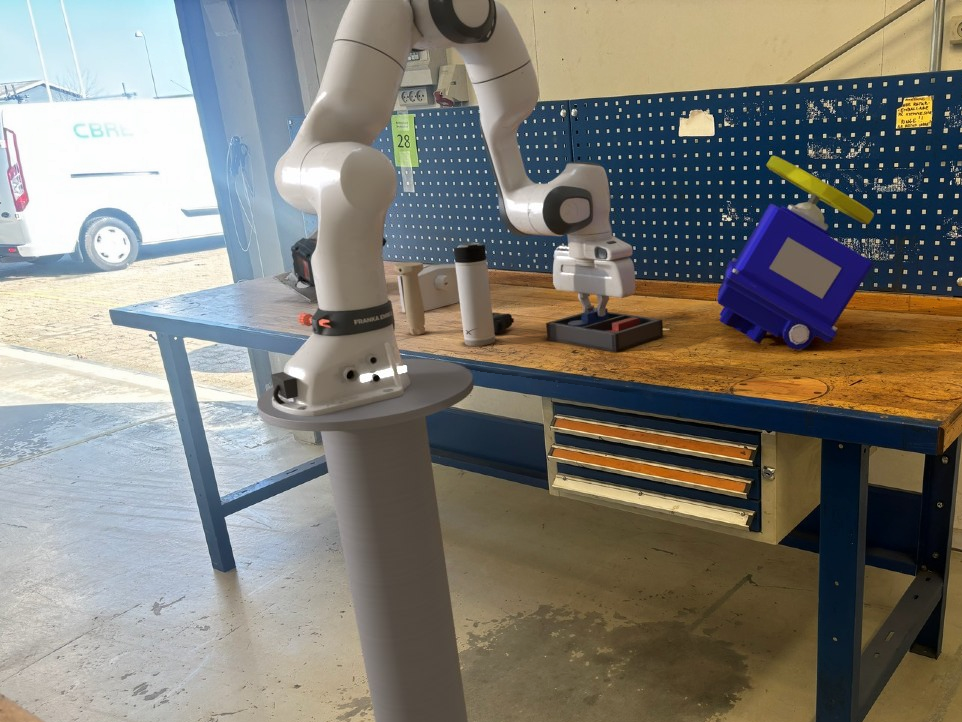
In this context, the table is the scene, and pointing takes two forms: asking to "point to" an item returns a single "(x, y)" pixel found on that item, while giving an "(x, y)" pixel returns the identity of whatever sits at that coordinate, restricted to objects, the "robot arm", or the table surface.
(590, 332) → the sorting tray
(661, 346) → the table surface
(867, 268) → the control box
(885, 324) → the table surface
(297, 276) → the circular saw
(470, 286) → the travel mug
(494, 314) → the tape measure
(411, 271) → the handle
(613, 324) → the red stepped block
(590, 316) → the blue stepped block
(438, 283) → the lock
